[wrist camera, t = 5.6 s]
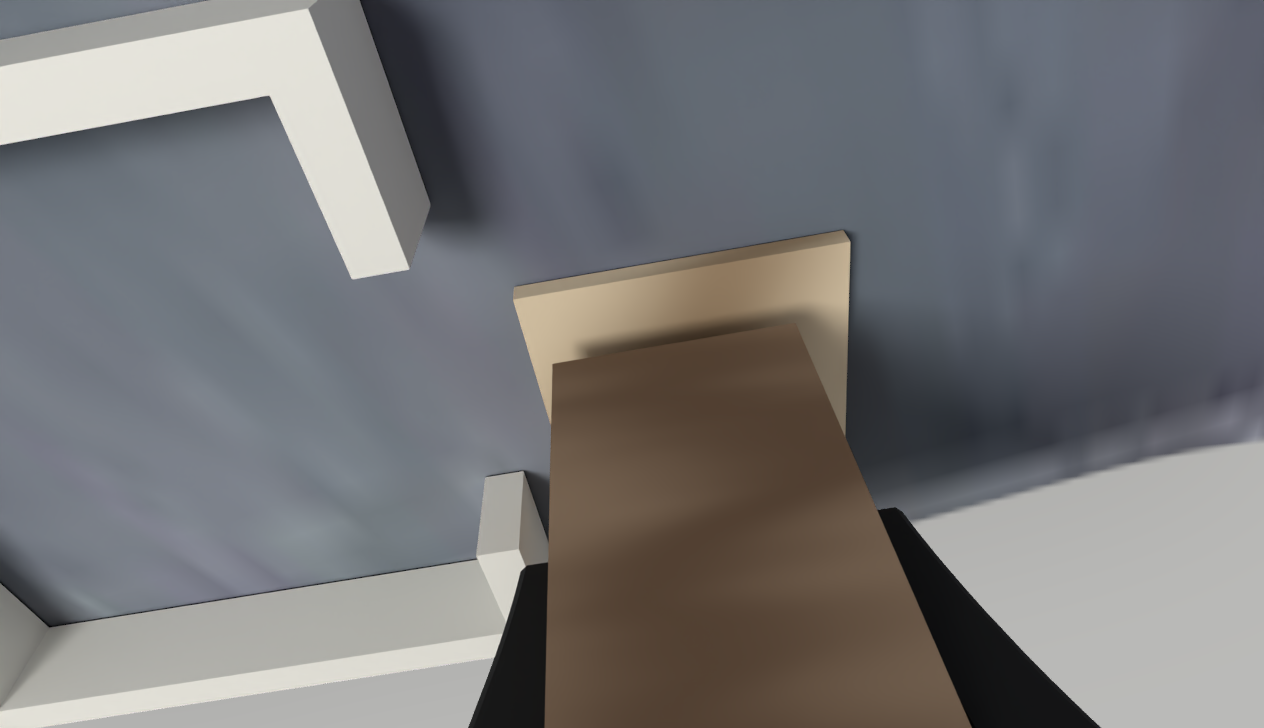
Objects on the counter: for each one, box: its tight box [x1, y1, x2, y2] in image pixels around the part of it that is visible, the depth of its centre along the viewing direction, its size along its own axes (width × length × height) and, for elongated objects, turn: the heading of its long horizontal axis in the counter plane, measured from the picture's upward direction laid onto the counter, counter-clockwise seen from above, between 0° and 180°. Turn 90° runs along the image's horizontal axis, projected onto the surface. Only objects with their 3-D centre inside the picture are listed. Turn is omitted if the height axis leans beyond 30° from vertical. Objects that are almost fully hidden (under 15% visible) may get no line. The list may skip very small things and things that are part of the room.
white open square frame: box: [0, 0, 549, 728], centre depth 13 cm, size 13×13×2 cm
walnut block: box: [545, 323, 972, 728], centre depth 11 cm, size 4×4×7 cm
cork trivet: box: [513, 230, 850, 435], centre depth 14 cm, size 6×6×1 cm
